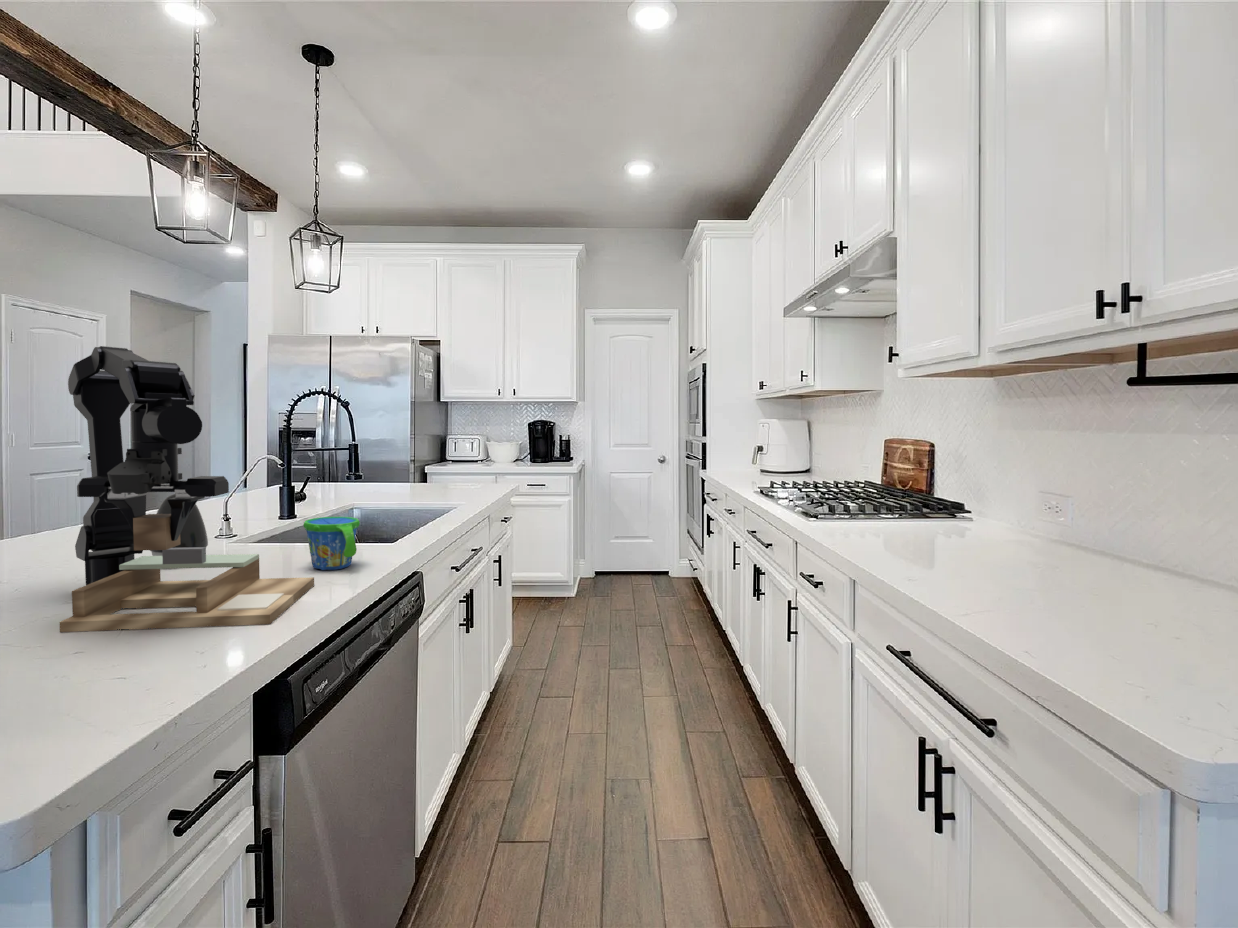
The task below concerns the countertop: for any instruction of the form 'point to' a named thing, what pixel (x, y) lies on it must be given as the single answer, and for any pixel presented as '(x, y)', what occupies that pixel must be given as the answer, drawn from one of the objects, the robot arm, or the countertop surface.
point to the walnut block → (153, 532)
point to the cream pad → (251, 602)
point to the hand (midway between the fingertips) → (157, 540)
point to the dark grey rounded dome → (187, 528)
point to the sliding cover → (189, 560)
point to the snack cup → (331, 541)
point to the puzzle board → (178, 600)
